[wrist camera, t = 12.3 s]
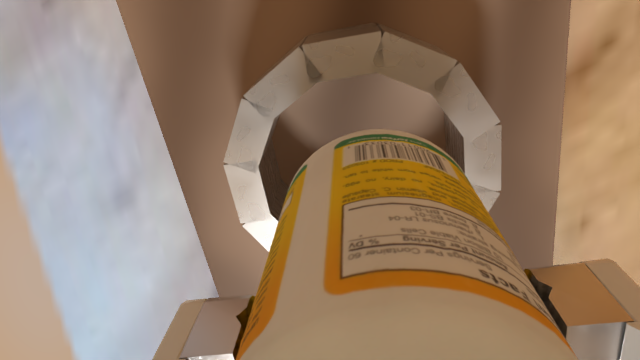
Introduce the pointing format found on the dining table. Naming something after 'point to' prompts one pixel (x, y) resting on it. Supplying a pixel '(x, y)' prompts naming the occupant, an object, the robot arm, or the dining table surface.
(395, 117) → the holder board
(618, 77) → the dining table surface
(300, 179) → the supplement bottle
